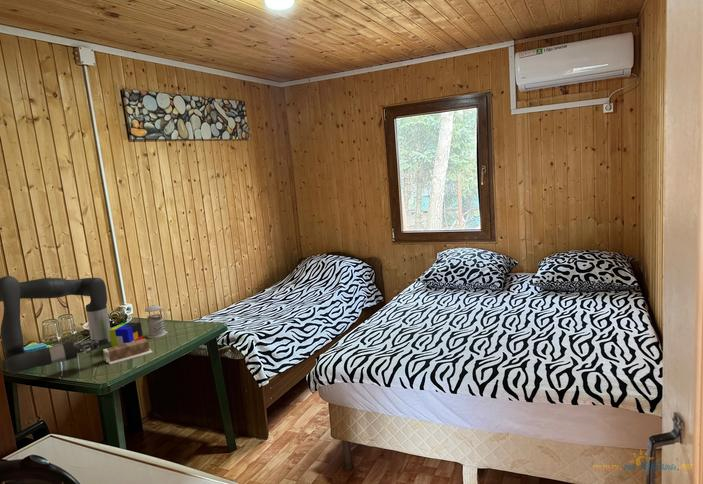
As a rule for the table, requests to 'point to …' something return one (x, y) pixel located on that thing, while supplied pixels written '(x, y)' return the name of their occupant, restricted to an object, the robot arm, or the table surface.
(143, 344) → the walnut block
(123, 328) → the puzzle toy
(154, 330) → the french press
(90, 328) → the robot arm
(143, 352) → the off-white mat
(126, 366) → the table surface
